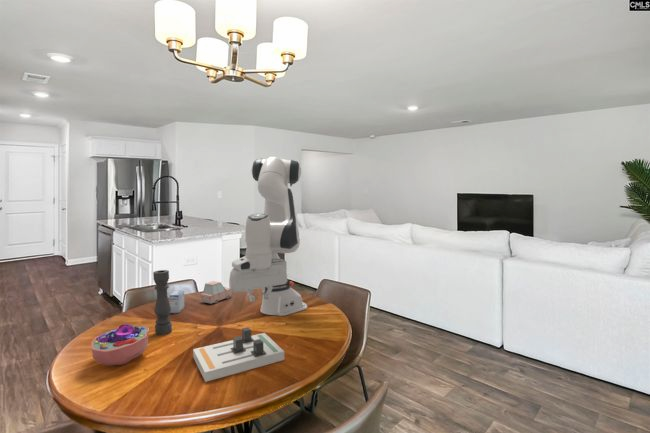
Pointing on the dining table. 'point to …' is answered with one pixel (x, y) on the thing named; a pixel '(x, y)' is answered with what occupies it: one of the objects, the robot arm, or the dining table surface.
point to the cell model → (120, 344)
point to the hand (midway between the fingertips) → (259, 300)
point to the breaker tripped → (238, 345)
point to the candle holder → (162, 303)
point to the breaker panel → (234, 357)
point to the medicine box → (176, 301)
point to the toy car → (215, 292)
